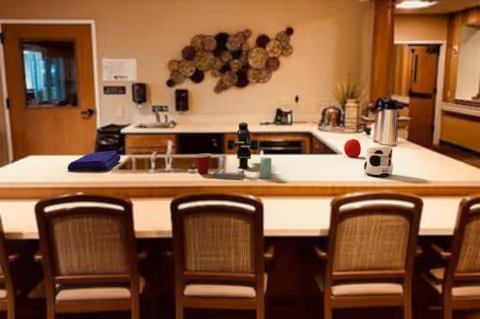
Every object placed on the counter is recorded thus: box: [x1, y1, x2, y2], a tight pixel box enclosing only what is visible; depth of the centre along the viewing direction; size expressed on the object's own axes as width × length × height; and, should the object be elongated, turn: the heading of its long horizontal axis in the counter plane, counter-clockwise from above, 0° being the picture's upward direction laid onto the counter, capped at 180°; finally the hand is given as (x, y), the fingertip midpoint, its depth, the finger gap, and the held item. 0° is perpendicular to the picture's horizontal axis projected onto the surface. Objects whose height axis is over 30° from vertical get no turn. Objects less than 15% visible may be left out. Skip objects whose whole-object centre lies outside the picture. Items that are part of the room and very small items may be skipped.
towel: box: [67, 150, 122, 172], centre depth 321 cm, size 26×36×9 cm
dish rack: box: [212, 168, 245, 180], centre depth 293 cm, size 14×16×3 cm
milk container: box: [363, 144, 394, 177], centre depth 298 cm, size 17×17×18 cm
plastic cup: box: [193, 153, 212, 175], centre depth 300 cm, size 11×11×12 cm
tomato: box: [343, 138, 362, 158], centre depth 361 cm, size 13×11×14 cm
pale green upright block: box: [259, 157, 272, 180], centre depth 288 cm, size 6×6×12 cm
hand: (242, 149), depth 292 cm, fingers open, 9 cm apart
